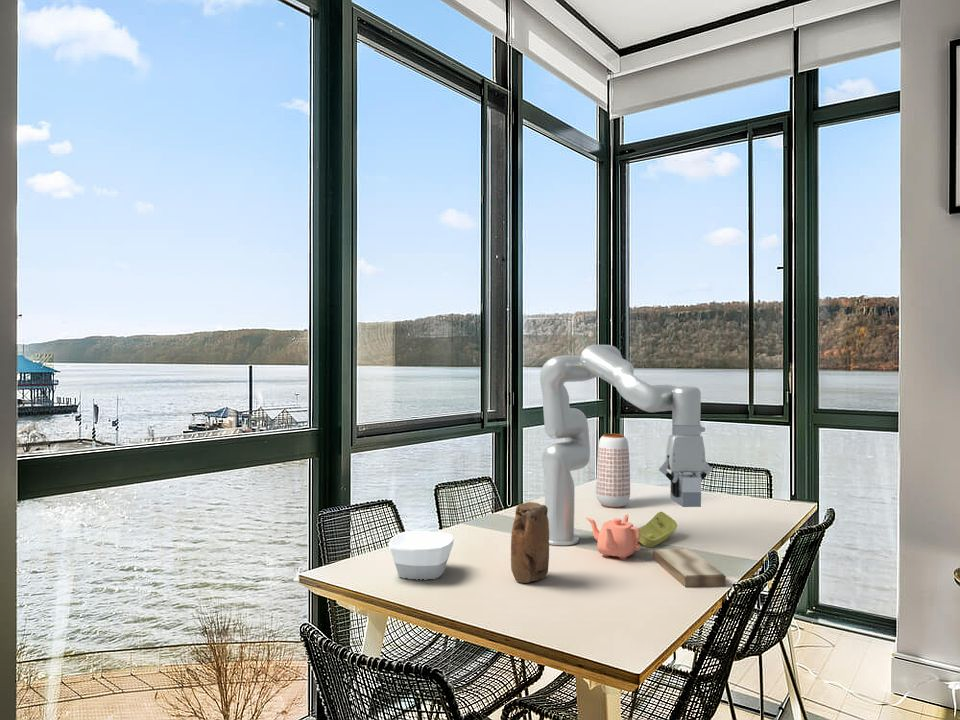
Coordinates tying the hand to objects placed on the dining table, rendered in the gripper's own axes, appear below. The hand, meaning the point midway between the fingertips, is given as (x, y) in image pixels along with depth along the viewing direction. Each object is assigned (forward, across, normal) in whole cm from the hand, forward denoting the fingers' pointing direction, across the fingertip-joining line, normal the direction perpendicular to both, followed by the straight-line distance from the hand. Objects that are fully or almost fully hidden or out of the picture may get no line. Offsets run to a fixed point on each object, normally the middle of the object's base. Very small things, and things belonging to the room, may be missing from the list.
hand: (685, 495), depth 194 cm
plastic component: (+22, -1, -33) cm, 40 cm away
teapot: (+22, +16, -18) cm, 32 cm away
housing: (+2, 0, 0) cm, 2 cm away
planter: (+22, -1, -82) cm, 85 cm away
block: (+22, +44, +3) cm, 49 cm away
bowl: (+22, +73, -3) cm, 77 cm away
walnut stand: (+22, -1, 0) cm, 22 cm away
